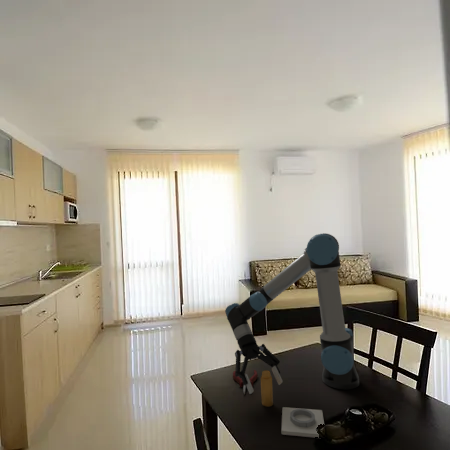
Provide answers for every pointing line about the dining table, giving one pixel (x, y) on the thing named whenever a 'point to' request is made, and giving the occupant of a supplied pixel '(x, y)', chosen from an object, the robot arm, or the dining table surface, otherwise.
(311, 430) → the plate
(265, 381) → the orange peg
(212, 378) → the dining table surface
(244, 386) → the pliers
